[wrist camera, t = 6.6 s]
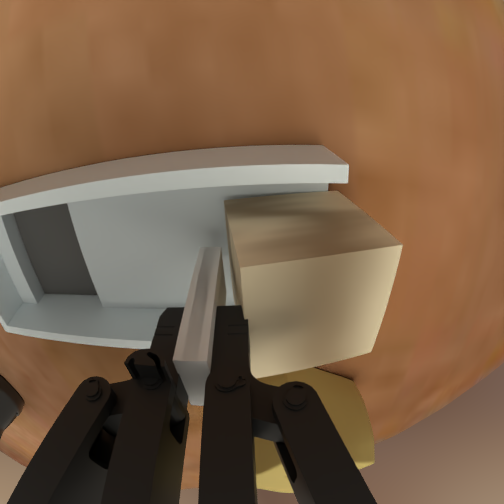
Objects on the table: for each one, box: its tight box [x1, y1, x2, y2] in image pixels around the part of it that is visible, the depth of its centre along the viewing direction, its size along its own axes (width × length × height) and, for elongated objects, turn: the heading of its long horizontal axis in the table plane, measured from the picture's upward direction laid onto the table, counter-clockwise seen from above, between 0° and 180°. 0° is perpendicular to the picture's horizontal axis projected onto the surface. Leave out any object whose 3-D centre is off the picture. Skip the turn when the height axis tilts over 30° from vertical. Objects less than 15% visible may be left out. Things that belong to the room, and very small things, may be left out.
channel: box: [0, 145, 349, 349], centre depth 16 cm, size 25×11×4 cm, turn 92°
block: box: [224, 191, 403, 378], centre depth 13 cm, size 6×6×6 cm
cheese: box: [254, 367, 374, 493], centre depth 23 cm, size 10×11×10 cm
